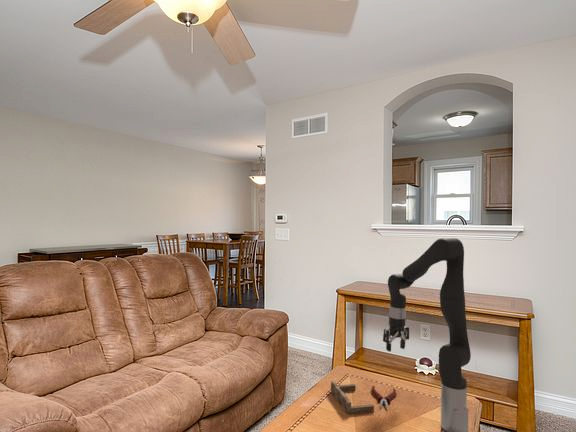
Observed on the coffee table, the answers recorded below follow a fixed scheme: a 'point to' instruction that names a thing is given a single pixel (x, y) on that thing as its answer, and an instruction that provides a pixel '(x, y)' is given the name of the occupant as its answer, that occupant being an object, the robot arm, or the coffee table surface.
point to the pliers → (380, 398)
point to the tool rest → (345, 402)
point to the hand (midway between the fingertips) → (395, 349)
